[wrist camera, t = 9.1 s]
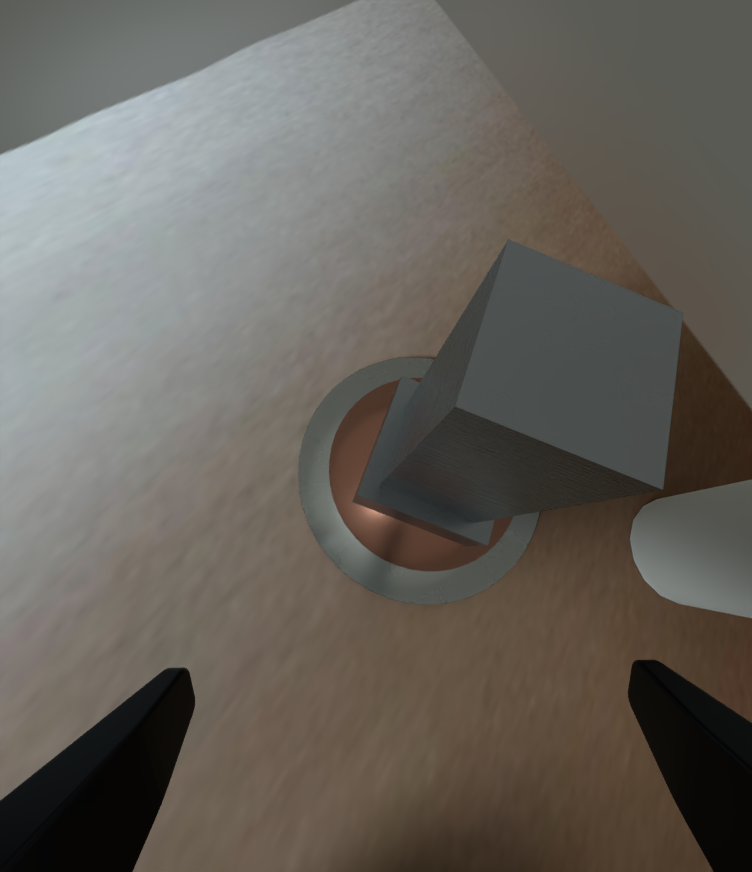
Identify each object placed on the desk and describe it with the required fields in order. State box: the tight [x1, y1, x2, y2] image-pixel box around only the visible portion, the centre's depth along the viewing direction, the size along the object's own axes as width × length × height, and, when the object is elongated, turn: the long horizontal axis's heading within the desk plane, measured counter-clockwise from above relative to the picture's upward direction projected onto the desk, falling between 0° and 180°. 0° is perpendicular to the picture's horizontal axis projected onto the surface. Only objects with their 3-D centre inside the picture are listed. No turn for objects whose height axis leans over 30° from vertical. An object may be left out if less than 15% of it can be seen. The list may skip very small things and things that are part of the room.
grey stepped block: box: [352, 239, 683, 546], centre depth 14 cm, size 6×6×12 cm
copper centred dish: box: [298, 357, 540, 605], centre depth 20 cm, size 13×13×1 cm
